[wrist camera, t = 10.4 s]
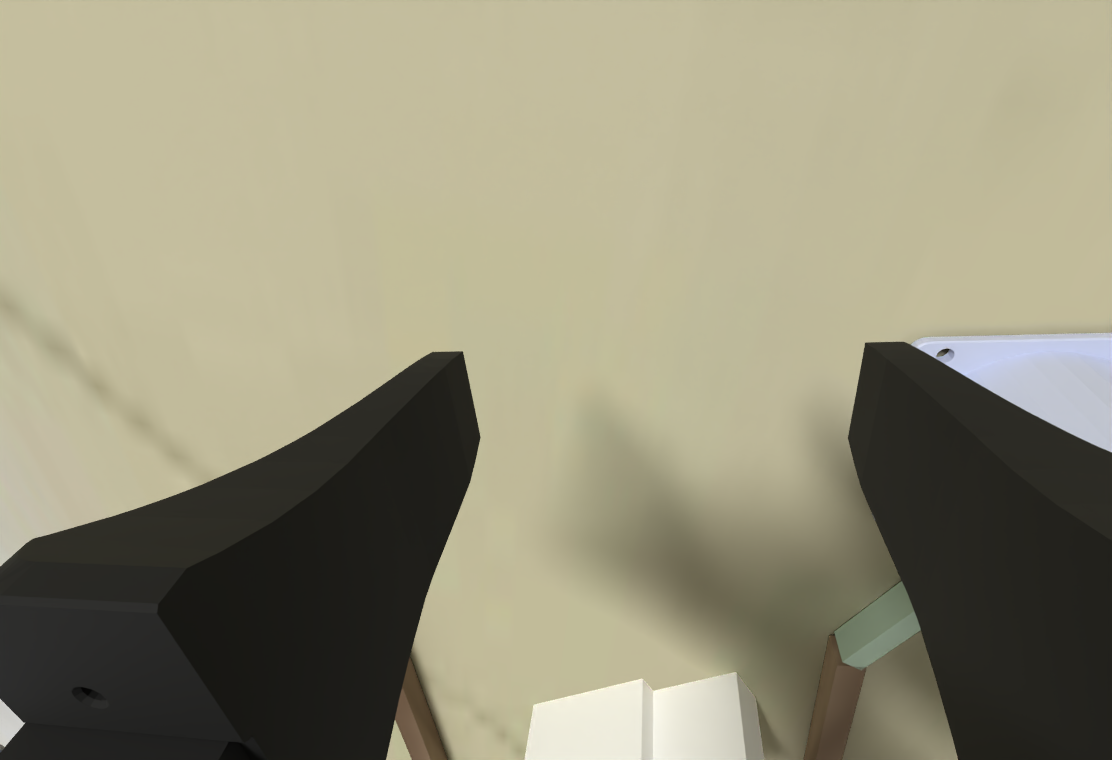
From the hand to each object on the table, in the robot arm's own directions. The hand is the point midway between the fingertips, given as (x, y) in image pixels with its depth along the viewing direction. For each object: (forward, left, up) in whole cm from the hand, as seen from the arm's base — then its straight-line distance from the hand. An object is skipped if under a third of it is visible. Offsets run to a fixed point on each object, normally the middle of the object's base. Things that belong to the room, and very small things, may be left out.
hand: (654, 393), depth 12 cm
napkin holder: (+1, +26, -10) cm, 28 cm away
